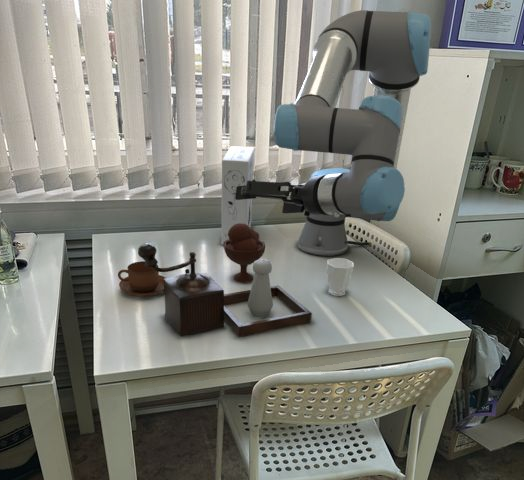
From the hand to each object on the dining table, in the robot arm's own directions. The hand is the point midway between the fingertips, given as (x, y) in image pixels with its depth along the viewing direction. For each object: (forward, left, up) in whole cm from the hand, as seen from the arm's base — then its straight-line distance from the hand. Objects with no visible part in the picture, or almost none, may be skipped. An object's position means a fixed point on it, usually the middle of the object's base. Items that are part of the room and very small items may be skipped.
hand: (261, 200), depth 116 cm
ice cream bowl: (-1, -11, -24) cm, 26 cm away
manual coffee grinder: (+22, +7, -24) cm, 33 cm away
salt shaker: (+4, +9, -24) cm, 26 cm away
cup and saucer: (+25, -13, -24) cm, 37 cm away
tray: (+4, +9, -24) cm, 26 cm away
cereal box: (-14, -44, -24) cm, 52 cm away
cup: (-20, +4, -24) cm, 32 cm away
